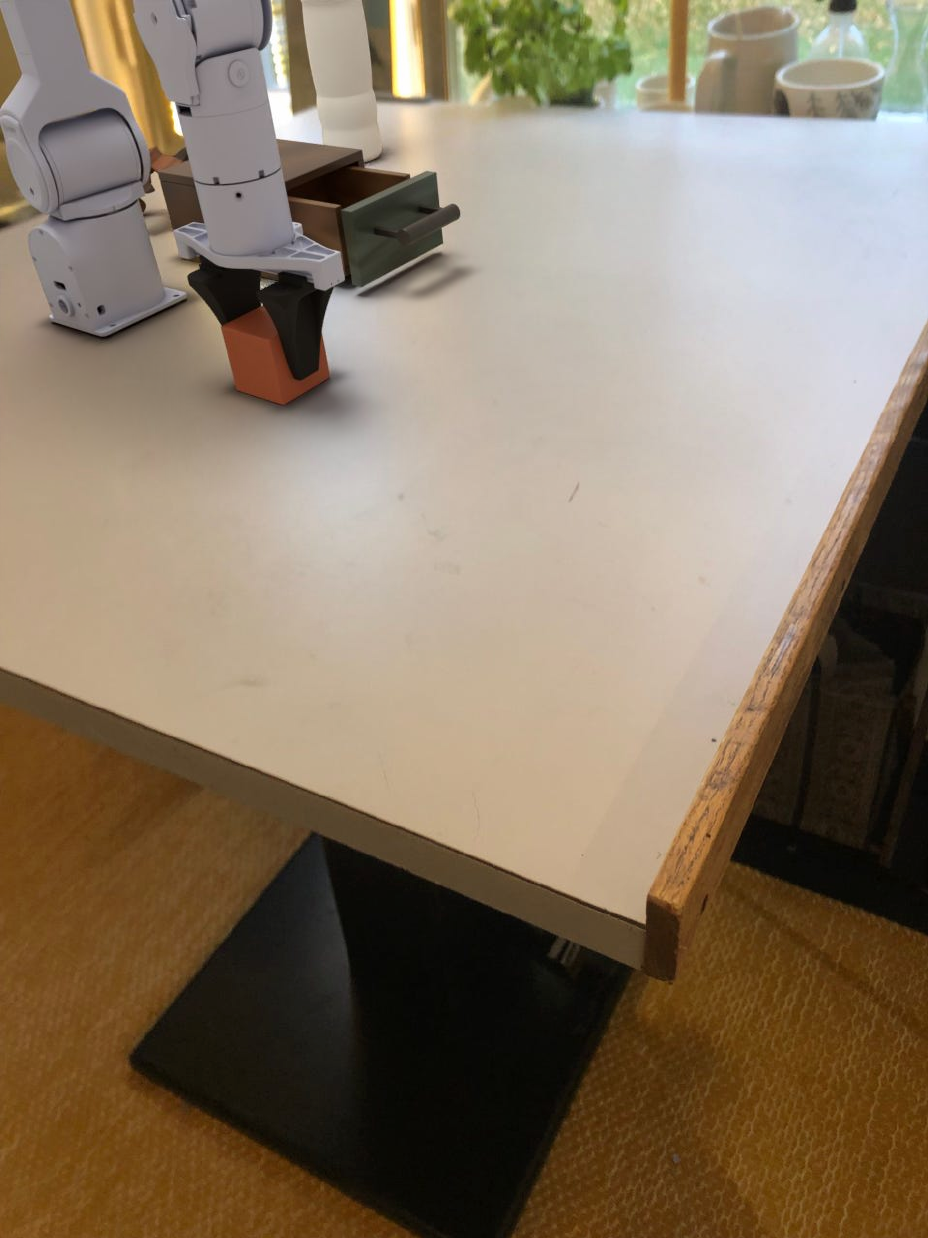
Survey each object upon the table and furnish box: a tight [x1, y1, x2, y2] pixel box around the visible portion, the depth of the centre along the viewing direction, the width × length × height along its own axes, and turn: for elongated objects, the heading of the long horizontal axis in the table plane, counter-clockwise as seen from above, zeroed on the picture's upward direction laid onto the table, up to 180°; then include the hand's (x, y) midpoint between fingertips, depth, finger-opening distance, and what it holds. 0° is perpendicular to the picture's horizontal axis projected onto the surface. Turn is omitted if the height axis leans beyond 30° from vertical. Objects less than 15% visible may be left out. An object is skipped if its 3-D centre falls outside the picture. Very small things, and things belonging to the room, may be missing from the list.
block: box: [220, 304, 331, 406], centre depth 71 cm, size 5×5×5 cm
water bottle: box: [300, 0, 383, 163], centre depth 111 cm, size 7×7×25 cm
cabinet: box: [157, 138, 366, 282], centre depth 94 cm, size 15×13×8 cm
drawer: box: [286, 165, 461, 288], centre depth 88 cm, size 18×11×6 cm, turn 53°
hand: (280, 366), depth 72 cm, fingers closed on block, 5 cm apart
